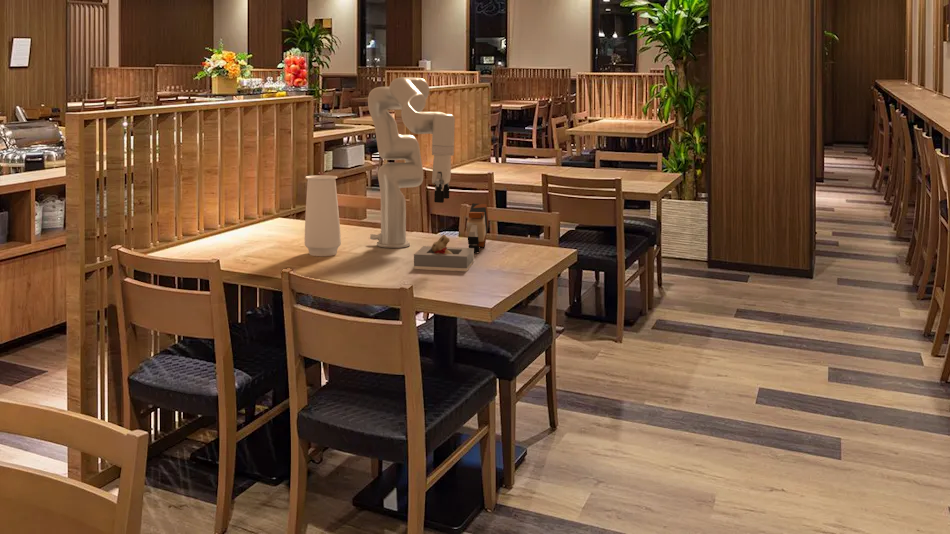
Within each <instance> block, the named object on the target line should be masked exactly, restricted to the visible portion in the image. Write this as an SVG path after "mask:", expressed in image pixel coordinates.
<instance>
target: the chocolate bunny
mask: <svg viewBox="0 0 950 534" xmlns="http://www.w3.org/2000/svg"><path fill="white" fill-rule="evenodd" d="M449 242H450V238H449V237H447V236H446V235H445V234H443V235H442V236H440V238H438V239H437V241H434V242H433V243H432V245H431V247H432V250H433V251H434V253H440V254H453V253H452V252H450V251H449V250H447V247H448V244H449Z"/></svg>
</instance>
